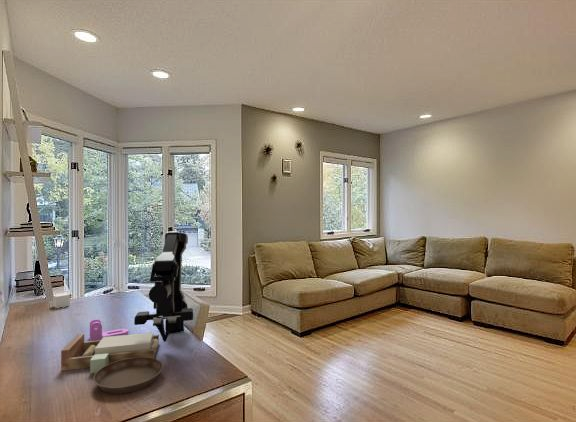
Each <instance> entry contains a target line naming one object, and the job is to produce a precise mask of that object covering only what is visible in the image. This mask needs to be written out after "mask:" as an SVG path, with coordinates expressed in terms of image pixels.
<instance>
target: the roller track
mask: <svg viewBox="0 0 576 422" xmlns="http://www.w3.org/2000/svg"><path fill="white" fill-rule="evenodd" d="M159 340H160V336H159V334H154V340H153V342H152V345H151V348H150V350H141V351H131V352H121V353H112V354H109V364H111V363H113V362H116V361H120V360H124V359H129V358H136V357H148V358H153V359H155V356H156V353H157V350H158V346H159V343H160V341H159ZM100 341H101V340H97V341H90V340H88V341H85V333H78V334H76V336H74V337H73V338H72V339H71V340H70V342H68V343H67V344H66V345H65V346H64V347H63V348H62V349H61V350H60V351H61V352H60V353H61V354H60V367H61V368H60V370H61V371H70V370H79V369H87V368H89V369H90V360H91V358H92V357H93V356H94V355H95V348H96V346H97V345H98V344H99V342H100Z"/></svg>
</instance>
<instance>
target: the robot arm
mask: <svg viewBox="0 0 576 422" xmlns="http://www.w3.org/2000/svg"><path fill="white" fill-rule="evenodd" d="M188 242H189V236H188V234H187V233H185V232H180V231H177V230H176V231H175V230H174V231H170V230H169V231H167V232H166V233H165V234H164V245H163V248H162V252H161V254H159V255H158V256H156V258H155V261H154V262H153V263H152V267H151V273H150V278H149V279H150V280H149V282H154V285H153V286H152V287H150V290H149V292H148V297H149V300H150V301H151V302H152V303H153V309H154V310H155V313H152V314H151V313H150V311H138V312H137V313H136V315H135V316H134V322H133V323H134V325H135V326H138V325H145V324H146V323H147V322H148V321H152V322H153V323H152V326H154V327H156V328H157V331H159V333H160V336H161V338H162V339H161V340H162V341H163V342H165V343H166V342H167V340H168V337H169V334H175V333H184V332H185V331H184V330H185V325H184V324H185V322H186V321H193V320H194V309H193V308H192V307H188V303H187V300H185V295H184V293H183V292H182V289H181V288H182V268H183V267H182V265H183V264H182V262H183V254H184V252H185V250H186V249H187V244H188ZM164 320H165V322H164Z"/></svg>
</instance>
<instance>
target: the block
mask: <svg viewBox="0 0 576 422" xmlns="http://www.w3.org/2000/svg"><path fill="white" fill-rule="evenodd" d="M93 355H94V356H93V357H92V358H91V360H90V367H89V373H90V374H96V372H97V371H98V370H100V369H101V368H103V367H104V366H106V365H108V364H109V353H106V354H96V355H95V354H93Z"/></svg>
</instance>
